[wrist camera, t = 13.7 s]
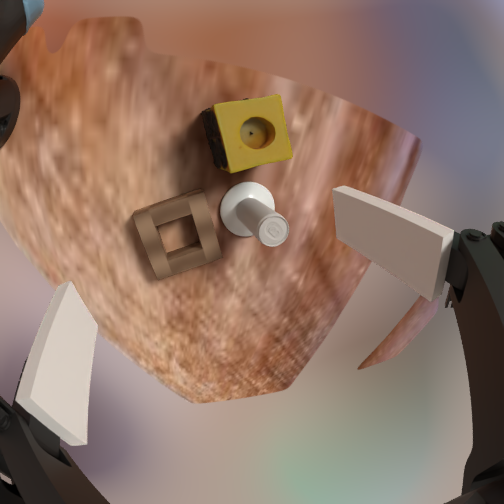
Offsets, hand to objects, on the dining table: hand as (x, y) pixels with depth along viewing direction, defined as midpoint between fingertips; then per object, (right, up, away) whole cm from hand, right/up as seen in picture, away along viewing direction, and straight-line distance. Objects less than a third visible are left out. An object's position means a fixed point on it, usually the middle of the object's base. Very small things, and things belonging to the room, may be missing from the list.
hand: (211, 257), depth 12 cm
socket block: (-11, +4, +34) cm, 36 cm away
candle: (-1, +20, +31) cm, 37 cm away
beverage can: (+1, +8, +36) cm, 37 cm away
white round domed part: (+1, +8, +37) cm, 38 cm away
